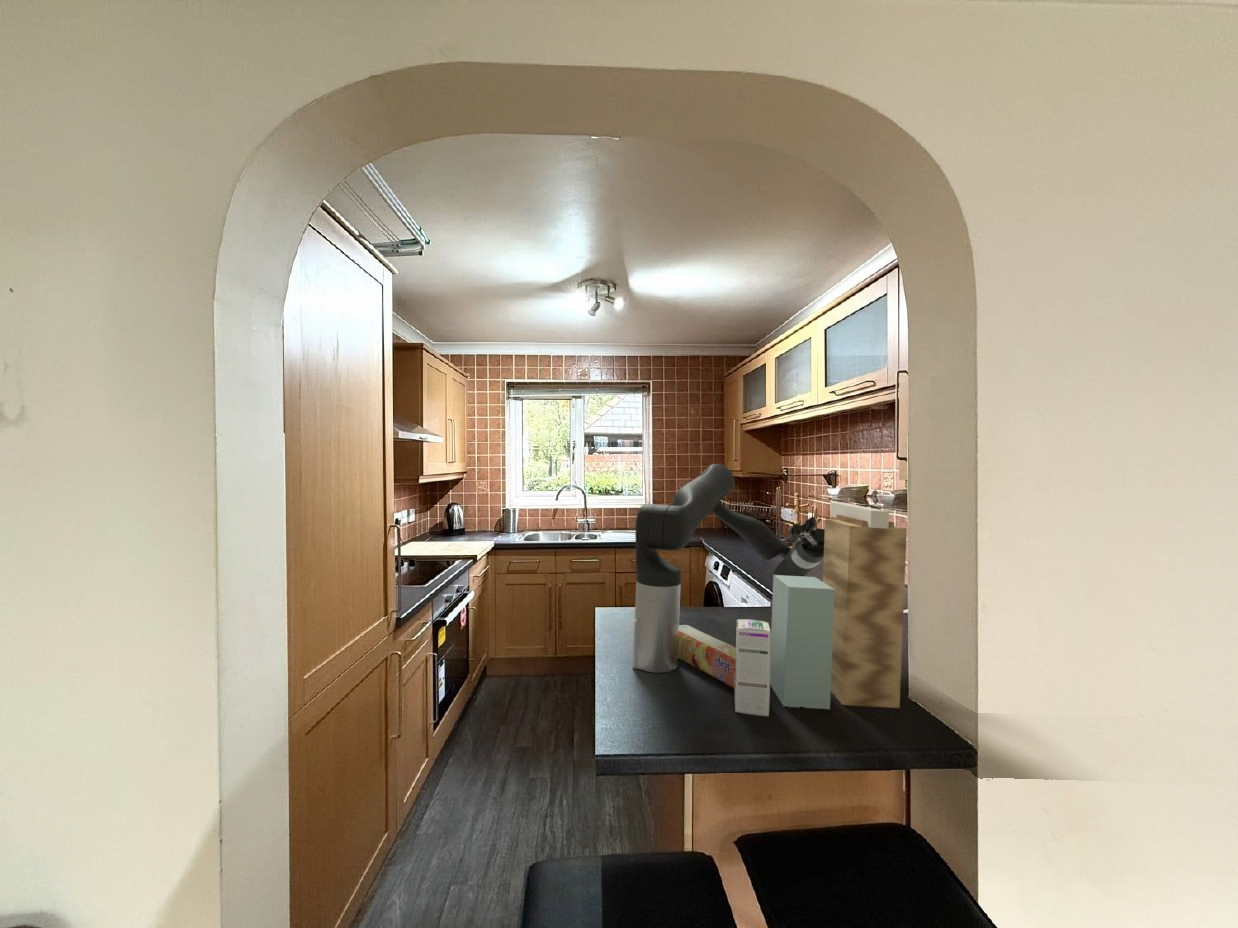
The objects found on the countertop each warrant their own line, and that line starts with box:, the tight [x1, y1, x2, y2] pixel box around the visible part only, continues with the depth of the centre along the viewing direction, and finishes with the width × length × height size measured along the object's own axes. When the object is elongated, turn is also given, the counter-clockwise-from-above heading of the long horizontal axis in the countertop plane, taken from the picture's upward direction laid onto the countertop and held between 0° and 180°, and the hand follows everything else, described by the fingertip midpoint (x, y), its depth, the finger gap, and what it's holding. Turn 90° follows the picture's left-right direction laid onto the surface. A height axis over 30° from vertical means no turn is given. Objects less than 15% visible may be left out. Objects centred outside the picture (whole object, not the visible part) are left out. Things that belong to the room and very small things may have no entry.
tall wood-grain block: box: [822, 515, 907, 709], centre depth 98 cm, size 10×12×33 cm
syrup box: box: [734, 618, 771, 717], centre depth 90 cm, size 6×6×14 cm
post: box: [770, 574, 835, 710], centre depth 95 cm, size 8×10×21 cm
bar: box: [830, 501, 890, 529], centre depth 102 cm, size 3×23×3 cm, turn 174°
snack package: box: [678, 624, 736, 690], centre depth 105 cm, size 21×7×7 cm, turn 32°
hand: (833, 521), depth 112 cm, fingers open, 8 cm apart
